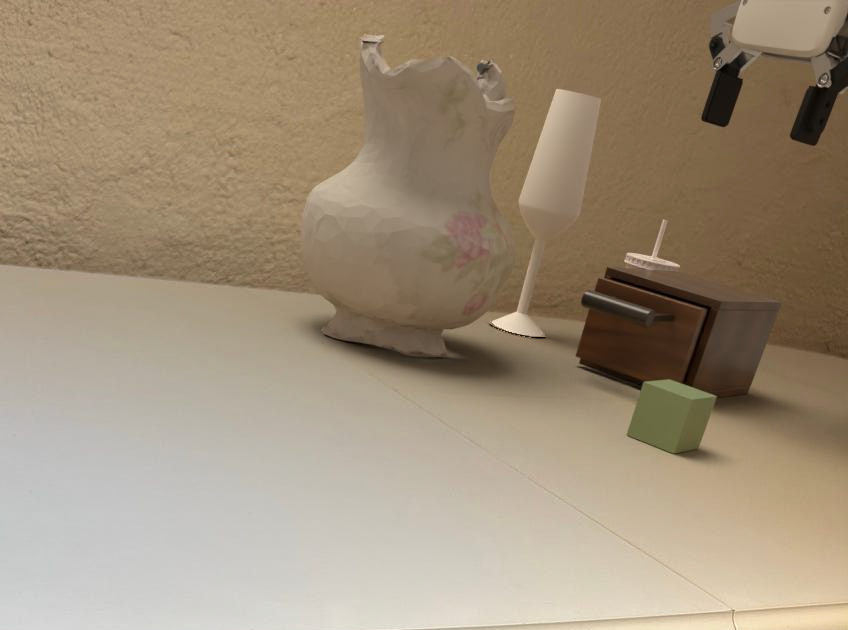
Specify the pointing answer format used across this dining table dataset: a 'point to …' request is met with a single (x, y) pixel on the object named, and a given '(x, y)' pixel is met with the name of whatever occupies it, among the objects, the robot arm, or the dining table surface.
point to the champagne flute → (554, 187)
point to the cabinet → (712, 329)
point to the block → (671, 415)
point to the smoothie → (651, 257)
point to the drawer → (641, 331)
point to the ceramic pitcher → (414, 207)
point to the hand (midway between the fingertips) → (756, 132)
